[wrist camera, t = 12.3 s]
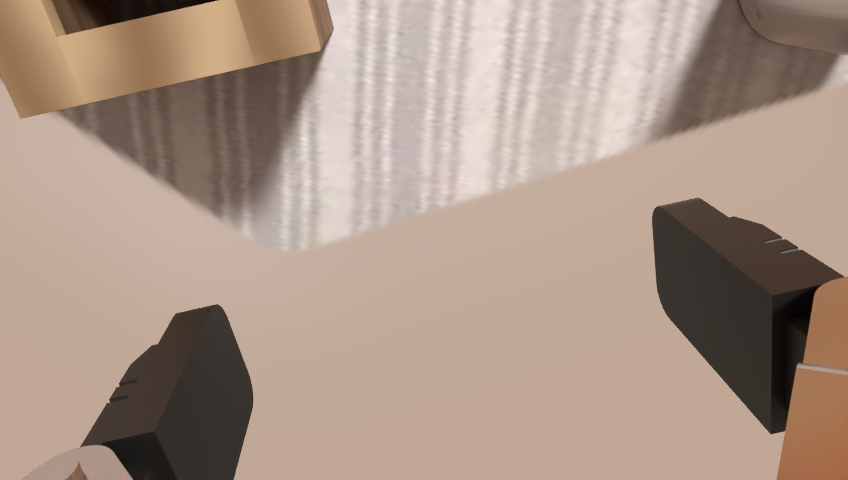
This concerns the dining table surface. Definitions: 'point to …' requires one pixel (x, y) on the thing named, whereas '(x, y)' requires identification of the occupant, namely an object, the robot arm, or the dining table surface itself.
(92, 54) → the walnut box
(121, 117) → the dining table surface
